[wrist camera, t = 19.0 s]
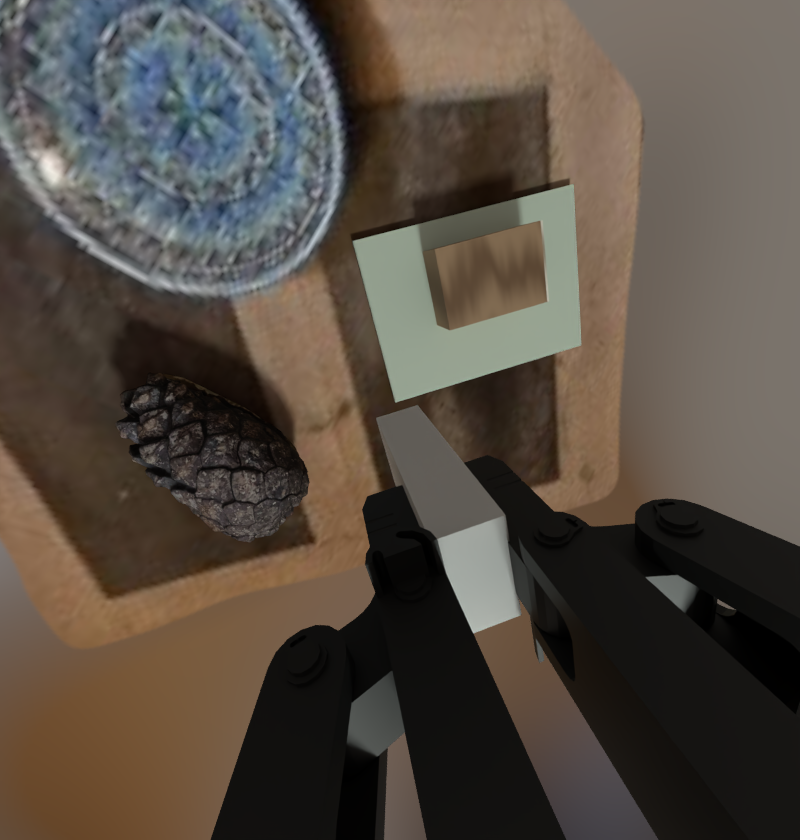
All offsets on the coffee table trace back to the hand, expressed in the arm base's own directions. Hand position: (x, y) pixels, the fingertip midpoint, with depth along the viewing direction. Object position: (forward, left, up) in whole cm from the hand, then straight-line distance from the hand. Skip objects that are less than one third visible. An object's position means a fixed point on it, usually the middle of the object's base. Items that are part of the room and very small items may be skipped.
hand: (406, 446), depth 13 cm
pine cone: (+7, -15, -27) cm, 31 cm away
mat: (0, +14, -26) cm, 30 cm away
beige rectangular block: (-2, +9, -24) cm, 26 cm away
